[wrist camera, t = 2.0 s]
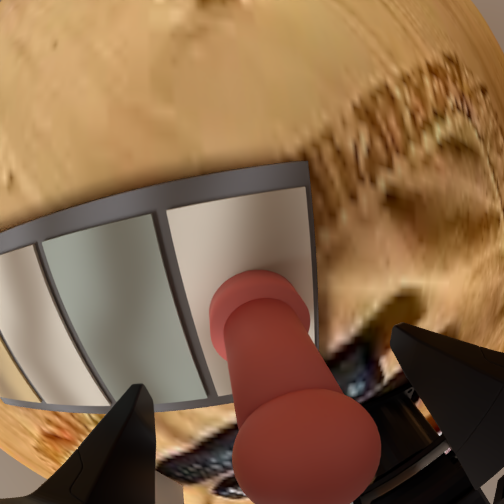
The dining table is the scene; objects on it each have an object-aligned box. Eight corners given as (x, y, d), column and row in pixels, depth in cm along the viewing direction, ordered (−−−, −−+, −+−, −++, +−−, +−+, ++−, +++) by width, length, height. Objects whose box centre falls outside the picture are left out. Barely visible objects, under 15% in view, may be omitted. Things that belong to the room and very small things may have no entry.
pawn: (295, 261, 11) (440, 436, 3) (300, 336, 13) (389, 499, 4) (199, 279, 11) (212, 515, 3) (219, 354, 12) (250, 542, 4)
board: (299, 160, 11) (309, 161, 10) (312, 371, 15) (319, 384, 14) (-60, 260, 9) (-69, 266, 8) (9, 396, 13) (4, 405, 12)
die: (152, 467, 17) (151, 513, 13) (182, 485, 19) (185, 525, 14) (113, 471, 17) (109, 511, 12) (145, 489, 19) (144, 526, 14)
